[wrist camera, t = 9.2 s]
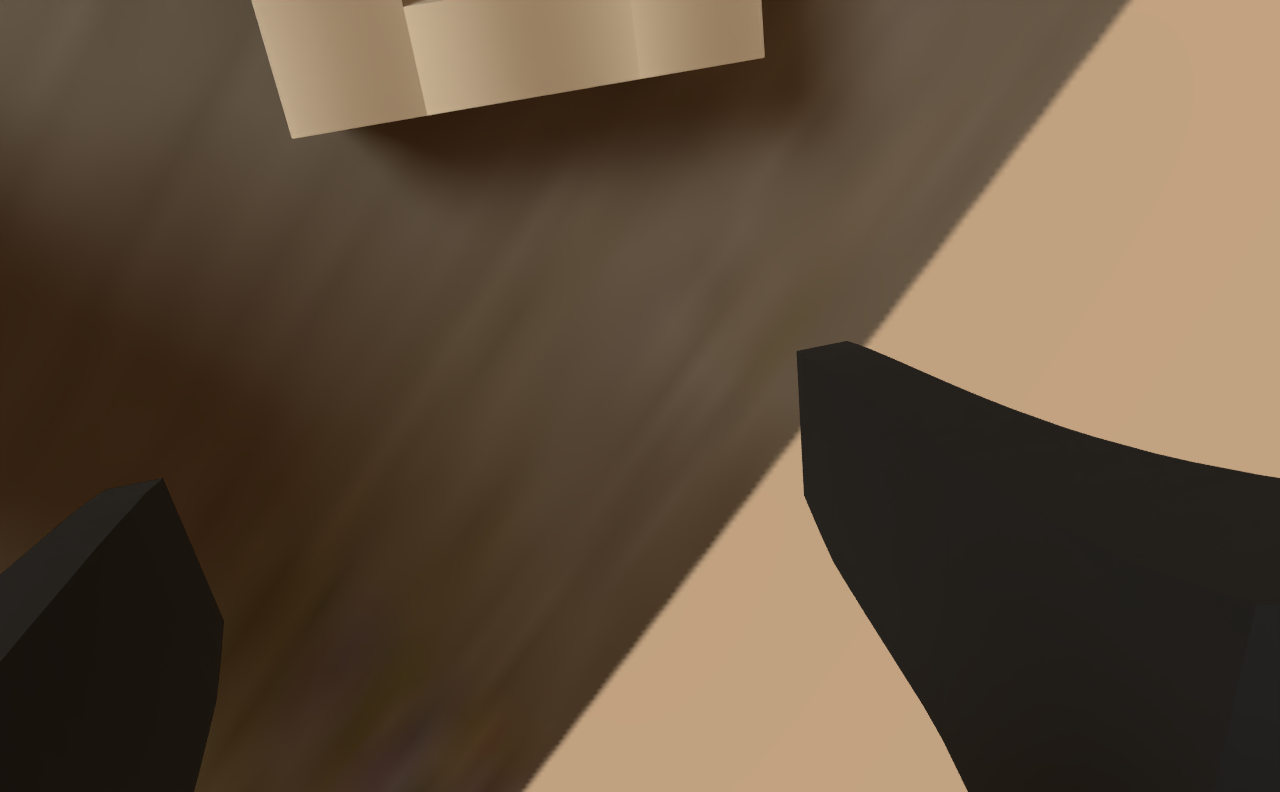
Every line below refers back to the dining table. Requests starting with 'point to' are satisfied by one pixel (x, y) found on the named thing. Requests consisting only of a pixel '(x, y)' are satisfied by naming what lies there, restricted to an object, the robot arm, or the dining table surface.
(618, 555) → the dining table surface
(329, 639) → the dining table surface
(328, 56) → the lock block
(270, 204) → the dining table surface
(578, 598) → the dining table surface
